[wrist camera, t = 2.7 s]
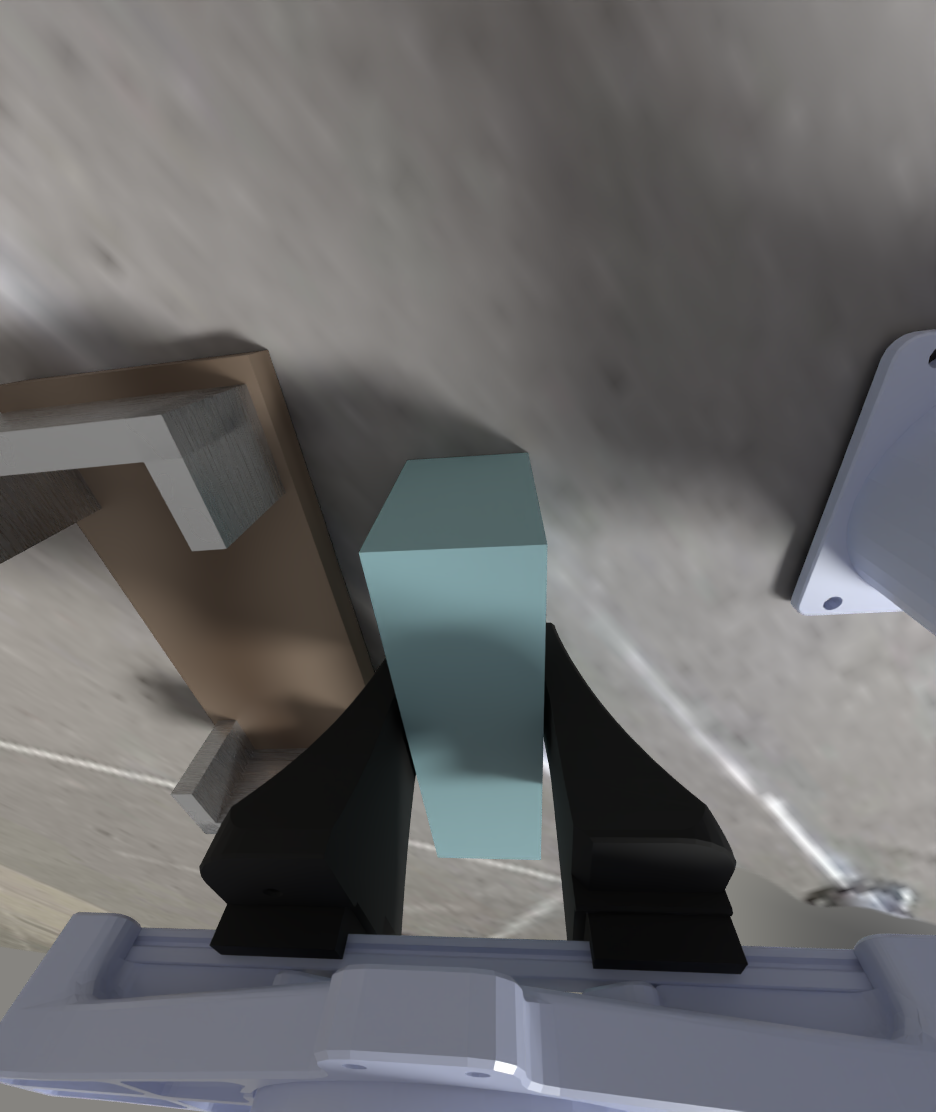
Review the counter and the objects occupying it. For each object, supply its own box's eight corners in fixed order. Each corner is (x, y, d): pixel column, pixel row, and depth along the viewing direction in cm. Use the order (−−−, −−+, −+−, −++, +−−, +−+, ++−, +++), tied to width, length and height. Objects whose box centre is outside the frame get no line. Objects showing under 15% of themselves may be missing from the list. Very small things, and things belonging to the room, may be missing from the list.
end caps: (245, 383, 10) (161, 414, 7) (384, 758, 18) (366, 834, 15) (11, 411, 11) (-141, 447, 8) (244, 760, 19) (205, 834, 16)
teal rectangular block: (528, 452, 12) (547, 544, 7) (529, 725, 18) (541, 860, 14) (407, 460, 12) (358, 552, 8) (451, 726, 18) (438, 857, 14)
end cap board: (268, 349, 10) (248, 355, 10) (398, 745, 19) (393, 766, 18) (22, 380, 11) (-16, 387, 10) (254, 747, 20) (243, 767, 19)
